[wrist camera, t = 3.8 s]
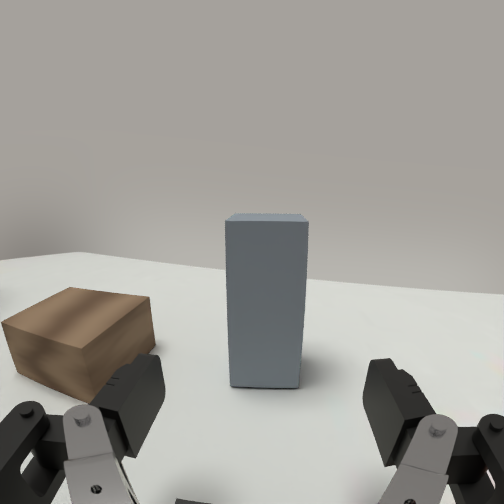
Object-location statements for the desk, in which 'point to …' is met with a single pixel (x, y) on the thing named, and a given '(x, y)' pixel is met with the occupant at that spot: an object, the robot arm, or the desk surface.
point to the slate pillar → (265, 298)
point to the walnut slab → (79, 339)
